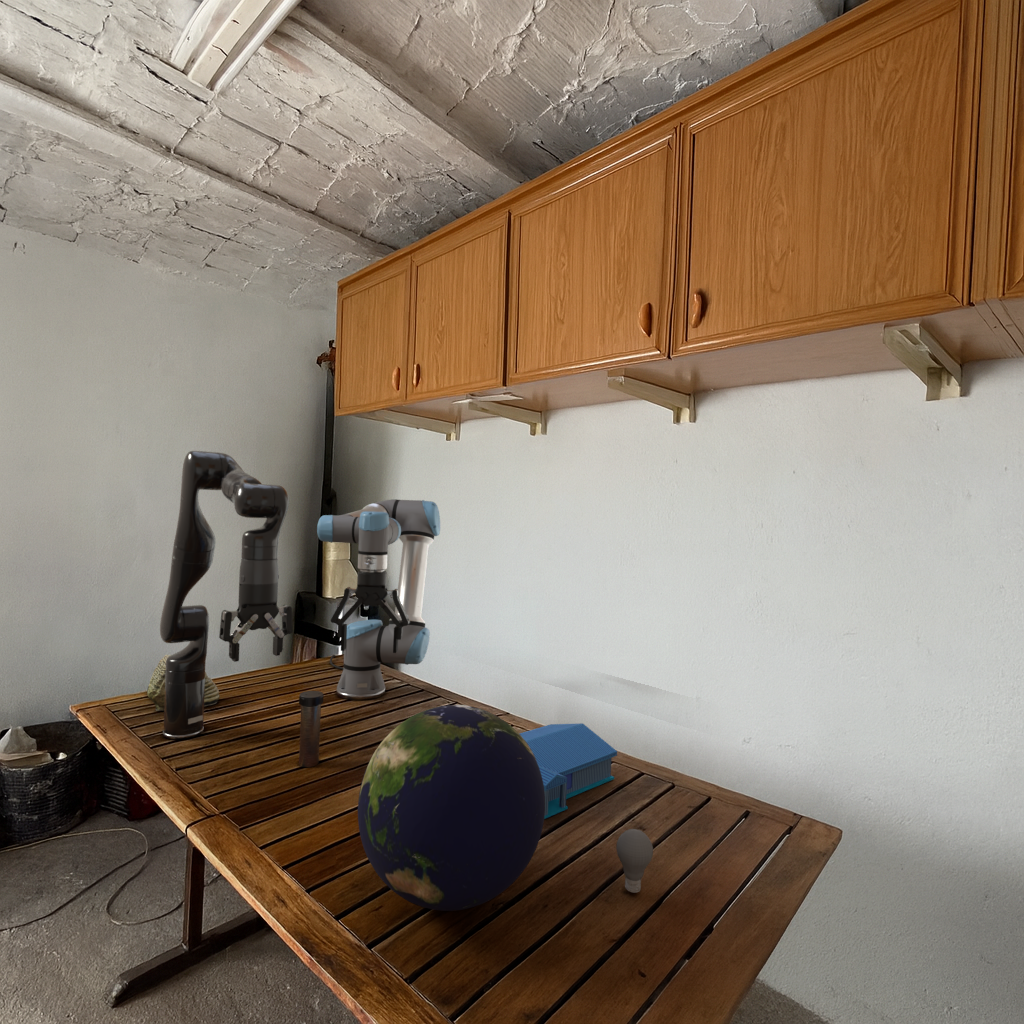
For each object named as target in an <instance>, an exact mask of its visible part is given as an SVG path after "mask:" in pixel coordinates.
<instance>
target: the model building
mask: <svg viewBox="0 0 1024 1024" xmlns="http://www.w3.org/2000/svg"><path fill="white" fill-rule="evenodd" d="M519 734H520V735H521V736H522V738H523V739H524V740H525V741H526V742H527V744H528V746H529V747H530V749H531V750H532V752H533V754H534V756H535V758H536V761H537V764H538V766H539V769H540V772H541V775H542V780H543V785H544V792H545V817H544V820H546V819H549V818H550V817H552V816H555V815H558V814H559V813H562V812H563V811H566V810H568V809H569V806H567V800H568V799H570V798H572V797H575V796H577V795H580V794H582V793H585V792H587V791H589V790H591V789H594V788H597V787H599V786H601V785H603V784H606V783H609V782H610V781H613V780H615V776H614V775H612V758H614V757H617V756H618V751H617V750H616V749H615V748H614V747H612V746H611V745H610V744H609V743H608V742H607V741H605V740H604V739H603V738H602V737H600V736H599V734H597V733H595V732H594V731H593V730H592V729H590V727H588V726H587V725H586V724H584V723H583V722H581V723H550V724H548V725H547V724H546V725H544V726H543V725H542V726H540V727H537V728H533V729H530V730H526V731H524V732H520V733H519Z"/></svg>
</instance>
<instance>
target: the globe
mask: <svg viewBox="0 0 1024 1024" xmlns="http://www.w3.org/2000/svg"><path fill="white" fill-rule="evenodd" d="M358 794H359V795H358V801H357V824H358V831H359V836H360V840H361V843H362V847H363V849H364V852H365V856H366V858H367V859H368V862H369V863H370V865H371V867H372V868H373V870H374V871H375V873H376V875H377V876H378V877H379V878H380V880H381V881H382V882H383V883H384V884H385V885H386V886H387V887H388V888H389V889H390V890H392V891H393V892H394V893H395V894H396V895H397V896H399V897H400V898H402V899H404V900H405V901H408V902H409V903H411V904H413V905H416V906H419V907H421V908H424V909H428V910H433V911H441V912H453V911H454V912H455V911H462V910H467V909H471V908H475V907H478V906H481V905H483V904H486V903H487V902H489V901H492V900H493V899H495V898H496V897H498V896H499V895H501V894H502V893H504V892H505V891H506V890H507V889H508V888H509V887H510V886H512V885H513V884H514V882H515V881H517V879H518V878H520V876H521V875H522V873H523V872H524V870H526V868H527V867H528V865H529V863H530V862H531V860H532V859H533V856H534V855H535V852H536V850H537V848H538V844H539V843H540V840H541V836H542V832H543V828H544V822H545V819H544V817H545V792H544V785H543V780H542V775H541V772H540V769H539V766H538V764H537V761H536V758H535V756H534V754H533V752H532V750H531V749H530V747H529V746H528V744H527V742H526V741H525V740H524V739H523V738H522V736H521V735H520V733H519V731H517V729H515V728H514V727H513V726H512V725H511V724H510V723H508V722H507V721H505V720H504V719H502V718H501V717H499V716H498V715H496V714H493V713H492V712H490V711H487V710H484V709H483V708H479V707H474V706H470V705H467V704H449V705H440V706H436V707H435V706H434V707H432V708H428V709H424V710H423V711H420V712H418V713H416V714H414V715H412V716H410V717H409V718H406V720H404V721H403V722H401V723H400V724H399V725H397V726H396V727H395V728H394V729H393V730H391V731H390V732H389V734H388V735H387V736H386V737H384V738H383V740H382V741H381V742H380V744H379V745H378V747H377V748H376V749H375V751H374V752H373V754H372V756H371V758H370V759H369V762H368V765H367V767H366V769H365V771H364V774H363V777H362V780H361V784H360V788H359V793H358Z"/></svg>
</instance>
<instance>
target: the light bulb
mask: <svg viewBox="0 0 1024 1024" xmlns="http://www.w3.org/2000/svg"><path fill="white" fill-rule="evenodd" d="M615 849H616V854H617V857H618V859H619V861H620V863H621V865H622V867H623V873H624V874H623V875H624V876H625V878H624V888H625V890H627V891H628V892H630V893H634V894H635V893H639V892H640V891H641V889H642V887H641V886H642V879H643V877H644V875H645V871H646V868H647V867H648V866H649V864H650V863H651V861H652V859H653V855H654V847H653V843H652V841H651V838H649V836H648V835H647V834H646V833H645V832H643V831H642V830H641V829H636V828H629V829H627V830H625V831H623V832H622V833H621V834H620V835H619V837H618V839H617V841H616V847H615Z"/></svg>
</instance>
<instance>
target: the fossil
mask: <svg viewBox="0 0 1024 1024" xmlns="http://www.w3.org/2000/svg"><path fill="white" fill-rule="evenodd" d="M171 655H172V654H165V655H164V656H163V657H162V658H161V659H160V660H159V662H158V663H157V666H156V667H155V669H154V670H153V672H152V675H151V677H150V680H149V684H148V686H149V688H148V687H147V689H148V694H147V693H146V695H147V697H148V699H149V700H150V701H152V703H153V704H154V706H155V711H158V712H159V711H162V712H163V711H164V705H165V674H166V660H167V658H168V657H169V656H171ZM220 698H221V696H220V690H219V688H218V686H217V685H216V683H215V682H214V681H213V679H212V678H211V677H209V675H208V674H207V672H206V671H205V693H204V707H207V706H213V705H215V704H217V703H218V701H219V699H220Z"/></svg>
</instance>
